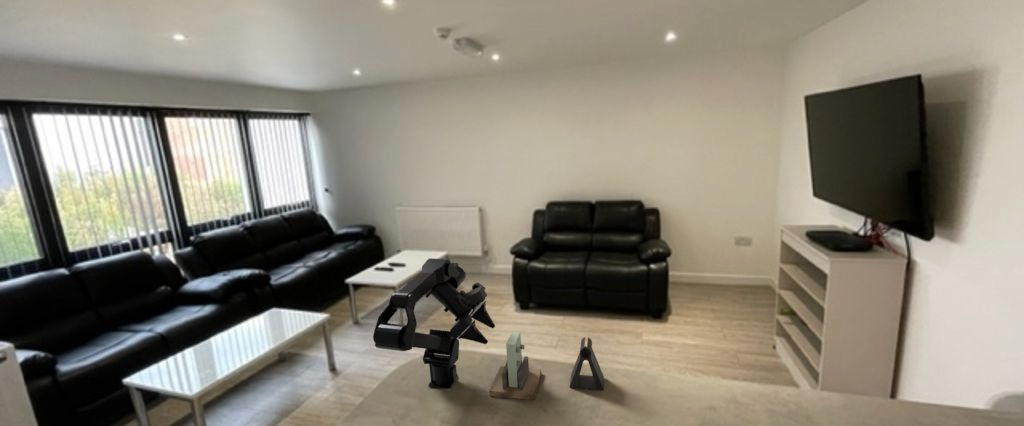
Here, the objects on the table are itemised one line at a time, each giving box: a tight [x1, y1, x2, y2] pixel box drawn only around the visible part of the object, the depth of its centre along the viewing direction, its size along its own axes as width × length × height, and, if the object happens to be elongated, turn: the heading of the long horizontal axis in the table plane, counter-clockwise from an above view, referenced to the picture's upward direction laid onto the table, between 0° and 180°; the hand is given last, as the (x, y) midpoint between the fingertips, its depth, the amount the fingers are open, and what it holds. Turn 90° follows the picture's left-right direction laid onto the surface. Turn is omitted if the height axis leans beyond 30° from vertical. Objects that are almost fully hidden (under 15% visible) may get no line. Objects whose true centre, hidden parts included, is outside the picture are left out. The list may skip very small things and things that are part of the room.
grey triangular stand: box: [569, 337, 605, 391], centre depth 115 cm, size 9×6×12 cm, turn 77°
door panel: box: [505, 331, 525, 387], centre depth 116 cm, size 3×7×12 cm, turn 168°
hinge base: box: [488, 356, 542, 401], centre depth 117 cm, size 12×12×6 cm
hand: (490, 334), depth 120 cm, fingers open, 9 cm apart
